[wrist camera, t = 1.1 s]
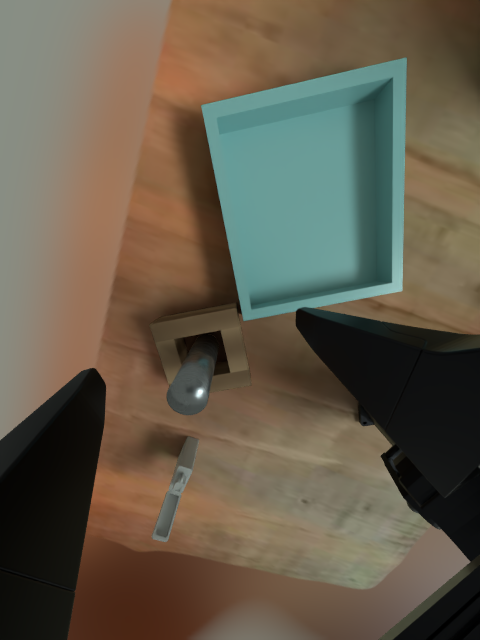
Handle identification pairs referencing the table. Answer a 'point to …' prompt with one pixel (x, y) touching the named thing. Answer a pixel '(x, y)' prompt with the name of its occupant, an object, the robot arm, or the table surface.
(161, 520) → the lighter
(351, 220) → the tray
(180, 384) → the pin
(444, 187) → the table surface
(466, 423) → the robot arm
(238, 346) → the pin holder
